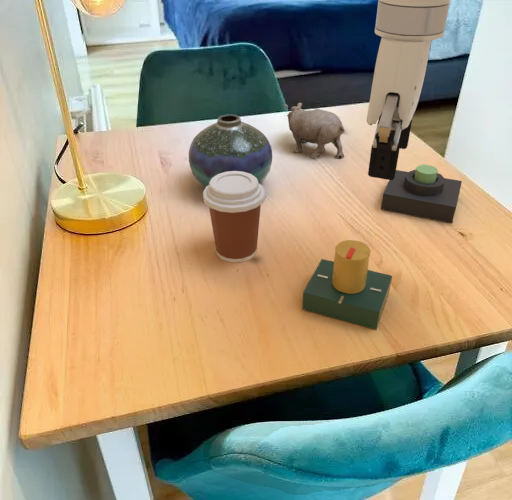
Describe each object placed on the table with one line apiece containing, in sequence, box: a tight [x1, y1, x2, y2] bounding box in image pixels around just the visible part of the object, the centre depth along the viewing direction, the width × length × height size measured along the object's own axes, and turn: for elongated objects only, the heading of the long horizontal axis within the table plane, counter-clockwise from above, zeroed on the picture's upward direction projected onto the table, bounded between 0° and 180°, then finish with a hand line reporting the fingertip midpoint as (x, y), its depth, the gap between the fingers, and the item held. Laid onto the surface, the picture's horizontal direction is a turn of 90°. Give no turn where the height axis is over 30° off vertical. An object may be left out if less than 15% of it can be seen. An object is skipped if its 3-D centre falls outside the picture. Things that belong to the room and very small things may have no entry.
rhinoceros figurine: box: [284, 102, 346, 160], centre depth 107 cm, size 8×14×15 cm
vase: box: [188, 113, 273, 189], centre depth 93 cm, size 15×15×13 cm
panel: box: [301, 258, 393, 331], centre depth 68 cm, size 10×9×3 cm
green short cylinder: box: [414, 164, 439, 184], centre depth 87 cm, size 4×4×2 cm
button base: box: [380, 169, 463, 224], centre depth 89 cm, size 12×10×5 cm
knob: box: [332, 239, 371, 294], centre depth 66 cm, size 4×4×6 cm
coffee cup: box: [202, 171, 267, 264], centre depth 76 cm, size 9×9×12 cm
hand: (388, 161), depth 66 cm, fingers open, 9 cm apart
